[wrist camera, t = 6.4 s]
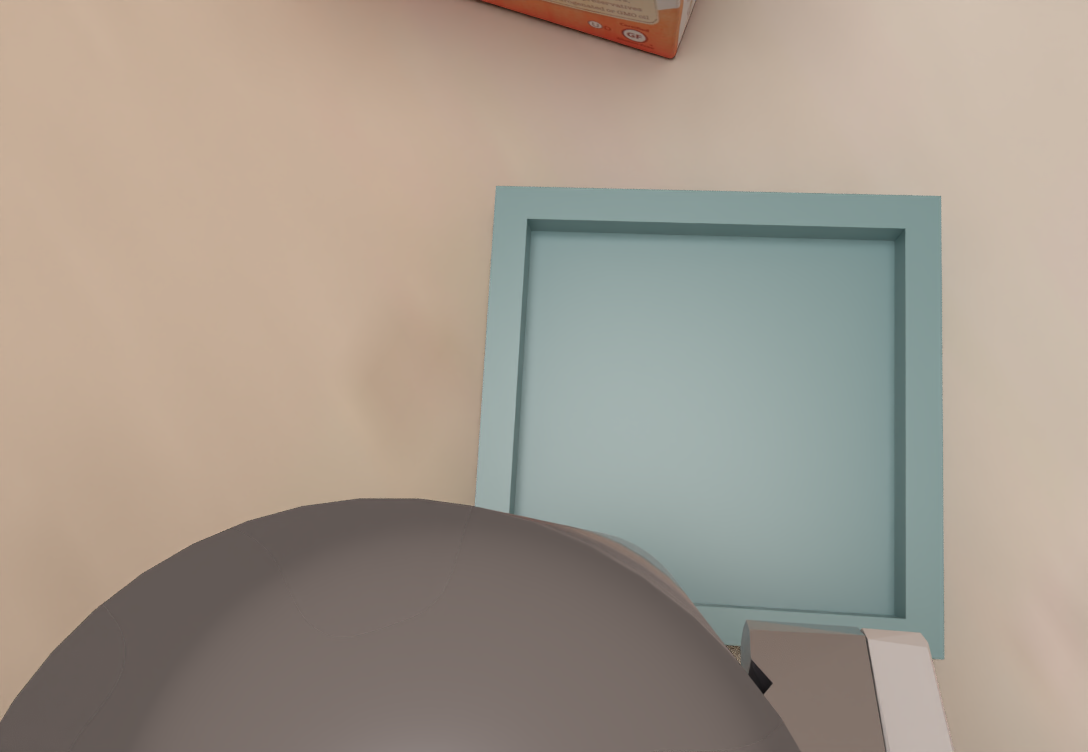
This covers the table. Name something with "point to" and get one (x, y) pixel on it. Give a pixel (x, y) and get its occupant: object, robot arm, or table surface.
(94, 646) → the peg
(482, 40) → the table surface
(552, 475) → the tray
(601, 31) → the cracker box
